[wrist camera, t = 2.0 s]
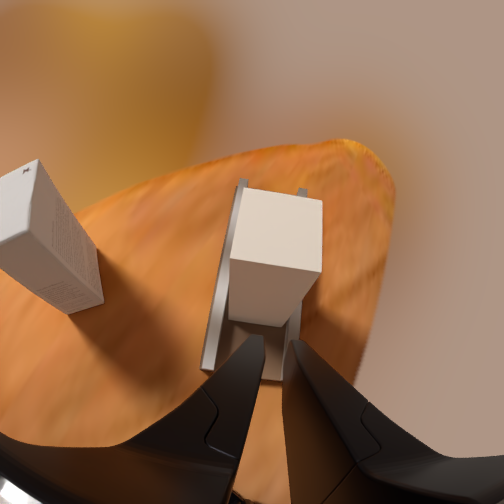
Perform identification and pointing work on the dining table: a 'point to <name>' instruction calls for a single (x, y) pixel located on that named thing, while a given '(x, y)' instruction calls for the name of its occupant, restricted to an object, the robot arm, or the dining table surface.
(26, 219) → the skincare box
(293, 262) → the slider block
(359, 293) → the dining table surface
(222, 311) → the track
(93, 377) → the dining table surface
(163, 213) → the dining table surface
